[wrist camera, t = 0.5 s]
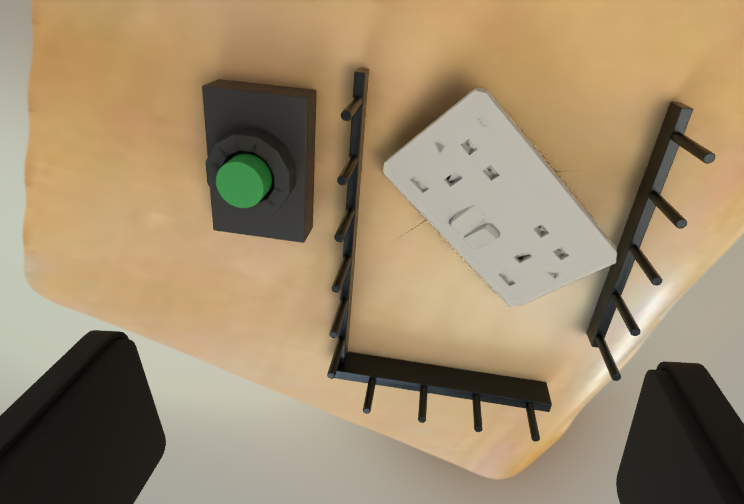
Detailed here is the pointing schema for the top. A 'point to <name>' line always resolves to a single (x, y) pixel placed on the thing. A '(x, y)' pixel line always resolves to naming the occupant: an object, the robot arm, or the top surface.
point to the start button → (243, 180)
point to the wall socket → (499, 201)
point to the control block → (263, 154)
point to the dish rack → (484, 384)
